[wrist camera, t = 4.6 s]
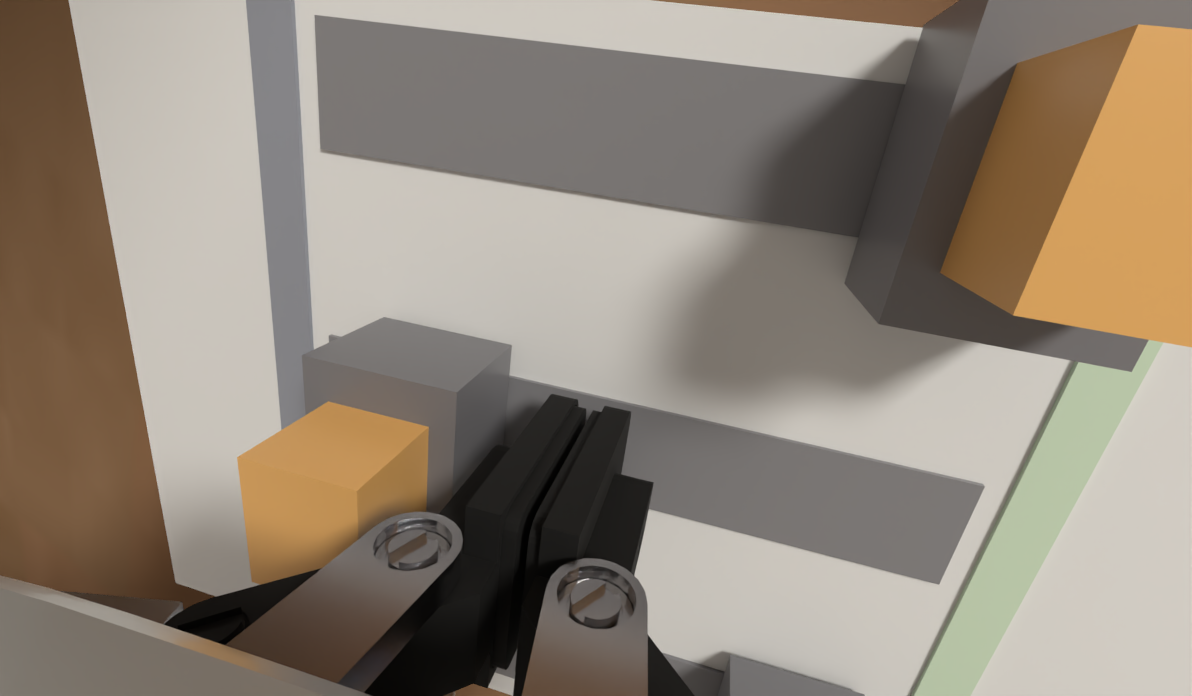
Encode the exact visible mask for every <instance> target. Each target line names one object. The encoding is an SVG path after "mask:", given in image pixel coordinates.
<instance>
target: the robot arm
mask: <svg viewBox="0 0 1192 696" xmlns="http://www.w3.org/2000/svg"><path fill="white" fill-rule="evenodd" d="M578 406H579V404H578V399H573V398H569V397H564V396H560V395H555V394H551V395H550V396H549V397H548V399H547V400H546V401H545V403H544V404H543V405H542V407H541V408H540V409H539V411H538V412H537V413H536V414H535V416H534V417H533V418H532V420H531V421H530V422H529V424H528V425H527V426H526V428H525V429H524V430H523V431H522V433H521V434H520V435H519V437H518V438H517V439H516V441H515V442H514V443H513V445H512V446H511V447H508V446H504V445H496V446H495V447H494V448H492V450H491V451H490V452H489V453H488V455H487V456H486V457H485V458H484V459H483V461H482V462H481V463H480V464H479V465H478V467H477V468H476V469H475V470H474V472H473V473H472V474H471V475H470V476H469V478H468V479H467V480H466V481H465V483H464V484H463V485H462V486H461V487H460V489H459V490H458V491H457V492H456V493H455V495H454V496H453V497H452V498H451V500H450V501H449V502H448V503H447V504H446V506H445V507H444V508H443V509H442V511H441V512H440V513H439V514H435V513H432V512H410V513H403V514H399V515H396V516H393V517H391V518H388V519H386V520H384V521H383V522H381V523H379V524H378V525H376V526H375V527H373V528H372V529H371V530H370V531H368V532H367V533H366V534H365V535H363V536H362V537H361V538H360V539H358V540H357V541H356V542H355V543H353V544H352V545H351V546H349V547H348V548H347V549H346V550H344V551H343V552H342V553H341V554H339V555H338V556H337V557H336V558H334V559H333V560H332V561H331V562H329V563H328V564H327V565H326V566H324V567H323V568H320V569H317V570H313V571H309V572H305V573H302V574H298V575H294V576H291V577H287V578H283V579H280V580H276V581H272V582H268V583H265V584H261V585H257V586H254V587H250V588H246V589H243V590H239V591H235V592H231V593H228V594H224V595H220V596H217V597H213V598H210V599H208V600H205V601H202V602H199V603H197V604H194V605H192V606H190V607H188V608H187V609H185V610H184V609H183V604H182V602H179V601H168V600H156V599H145V598H134V597H122V596H111V595H99V594H88V593H77V592H65V591H57V590H54V589H51V588H47V587H44V586H40V585H36V584H32V583H28V582H24V581H20V580H16V579H12V578H8V577H4V576H0V696H455V691H456V690H459V689H461V688H463V687H466V686H468V685H470V684H476V685H479V686H482V687H485V688H488V686H489V684H490V682H491V680H492V677H493V675H494V673H495V671H496V669H497V667H498V668H501V669H504V670H507V669H508V667H509V665H510V663H511V661H512V659H513V657H514V654H515V652H516V650H517V656H516V665H515V680H514V690H513V696H694V694H693V693H692V692H691V690H690V689H689V688H688V686H687V685H686V684H685V682H684V681H683V680H682V679H681V677H680V676H679V675H678V673H677V672H676V671H675V669H674V668H673V667H672V666H671V664H670V663H669V662H668V660H667V659H666V658H665V656H664V655H663V654H662V652H661V651H660V650H659V649H658V647H657V646H656V645H655V643H654V642H653V641H652V639H651V638H650V637H649V635H648V603H647V598H646V593H645V590H644V588H643V587H642V585H641V583H640V582H639V580H638V579H637V578H636V577H635V576H634V574H635V570H636V566H637V562H638V557H639V553H640V549H641V544H642V539H643V535H644V530H645V525H646V520H647V515H648V510H649V505H650V500H651V495H652V490H653V484H654V482H650V481H646V480H642V479H638V478H634V477H630V476H626V475H622V474H621V473H622V467H623V461H624V455H625V449H626V444H627V438H628V432H629V426H630V420H631V411H627V410H622V409H618V408H613V407H609V406H604V408H603V410H602V412H599V411H595V410H593V411H592V413H591V415H590V417H589V418H588V420H587V422H586V424H585V421H586V408H582V407H578Z"/></svg>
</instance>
